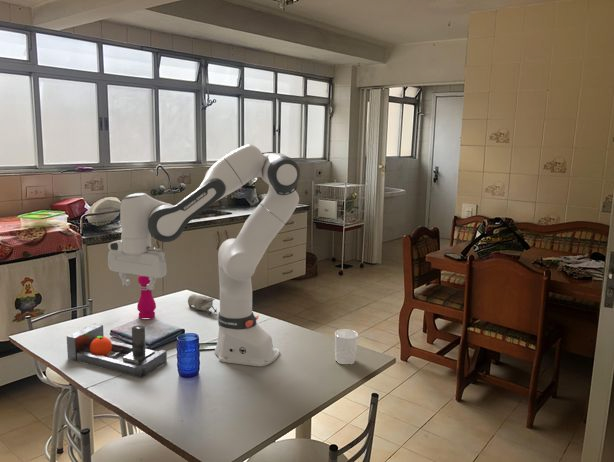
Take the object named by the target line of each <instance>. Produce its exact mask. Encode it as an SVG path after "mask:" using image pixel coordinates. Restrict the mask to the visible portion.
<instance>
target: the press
mask: <svg viewBox="0 0 614 462" xmlns="http://www.w3.org/2000/svg"><path fill="white" fill-rule="evenodd" d="M104 335H105V333H104V325H103V324H99V323H93V324H91V325H88V326H86V327H84V328H81V329H79V330H78V331H75V332H73V333H71V334H68V335H66V348H67V349H66V350H67V351H66V352H67V360H70V361H74V362H79V363H82V364H86V365H90V366H94V367H97V368H99V369H100V368H101V369H105V370H108V371H113V372H116V373H120V374H123V375H127V376H132V377H135V378H139V379H143V378H145V377H146V376H147V375H149V374H151V373H152V372H153V371H156V370H157V369H159V368H160V367H162V366H163V365H165V364H166V363H167V362H168V361H167V360H168V359H167V358H168V355H167V350H165V349H160V350H159V351H158V350H154V351H155V354H153V355H152V356H150V357H148V358H147V359H145V360H143V361H142V362H140V363H138V364H137V365H136V364H132V363H128V362H124V361H123V360H119V359H117V358H119V357H120V356H122V355H124V356H126V355H128V354H129V353H131V352H132V344H128V343H124V342H119V341H115V340H110V339H109V340H110V341H111V343H112V350H111V352H112V353H114V354H112V355H110V356H109V357H107V356H106V357H104V356H100V355H96V354H92V353H91V352H90V344H91V342H92V341H93V340H94V339H95V338H96V337H97V336H102V337H105V336H104ZM147 349H148V348H147ZM148 350H150V349H148ZM111 352H110V353H111Z"/></svg>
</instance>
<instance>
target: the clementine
mask: <svg viewBox="0 0 614 462" xmlns="http://www.w3.org/2000/svg"><path fill="white" fill-rule="evenodd" d="M111 341H112V340H111ZM111 341H110V339H109V338H108V337H106V336H104V337H102V336H97V337H96V338H95V339H94V340H93V341H92V342H91V344H90V352H91V353H92V354H96V355H100V356H104V357H107V356H108V355H110V353H111V350H112V343H111Z"/></svg>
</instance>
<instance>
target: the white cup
mask: <svg viewBox="0 0 614 462" xmlns="http://www.w3.org/2000/svg"><path fill="white" fill-rule="evenodd" d="M358 338H359V334H358V332H357V331H355V330H352V329H347V328H342V329H337V330H336V331H335V332H334V361H335V360H336V361H337V362H338V363H341V364H351V363H353V364H355V362H356V355H357V348H358ZM336 361H335V362H336ZM337 362H336V363H337ZM338 363H337V364H338ZM351 365H352V364H351Z"/></svg>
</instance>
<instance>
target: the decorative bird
mask: <svg viewBox="0 0 614 462" xmlns="http://www.w3.org/2000/svg"><path fill="white" fill-rule="evenodd" d="M215 300H216V298H215V297H214V298H213V297H210V296H209V297H208V296H205V295H198V294H191V295H189V296H188V299H187V304H188V306H189V307H191V306H193V307H195V308H194V309H196V310H198V311H205V312H206V311H208V312H209V313H208V315H207V316H210V315H212V314H213V313H212V311H211V310H210V309H211V308H212V309H213V310H214V313H215V314H216V313H218V312H217V311H218V310H217V308H216V309H215V307H214V306H213V305H214V303H213V302H214V301H215Z"/></svg>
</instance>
